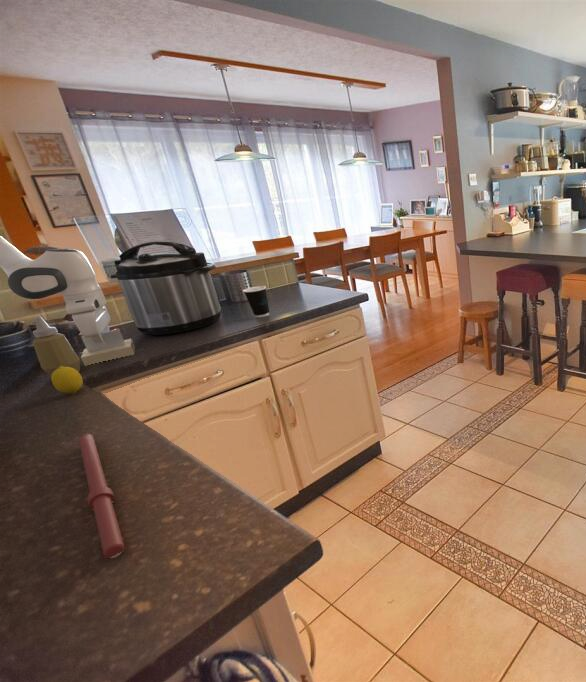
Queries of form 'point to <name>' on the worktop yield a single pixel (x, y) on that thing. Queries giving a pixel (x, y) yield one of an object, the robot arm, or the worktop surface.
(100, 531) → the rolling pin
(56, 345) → the squeeze bottle
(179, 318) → the pressure cooker
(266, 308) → the dixie cup
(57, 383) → the lemon
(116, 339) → the light grey rectangular block
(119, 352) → the block
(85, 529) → the worktop surface
